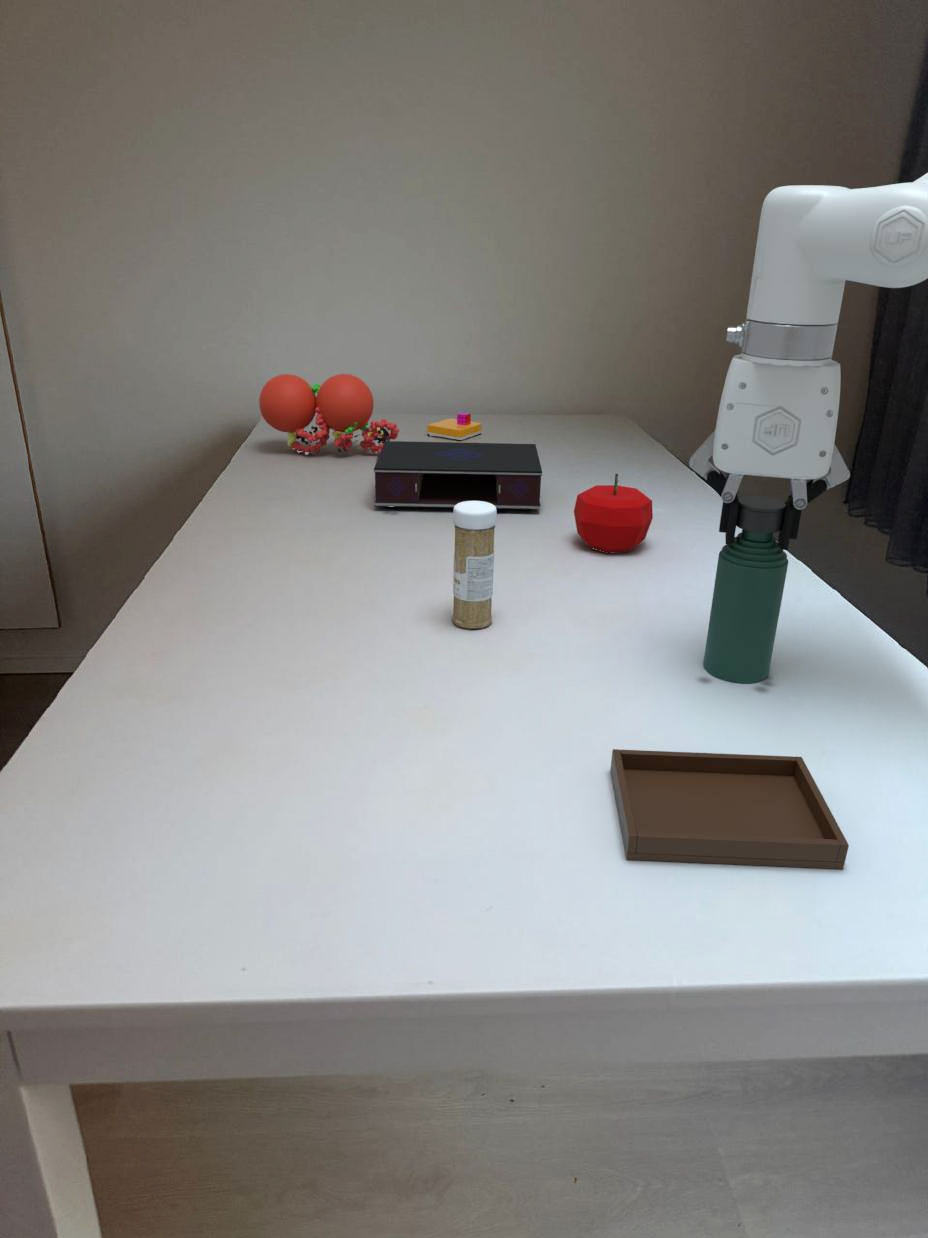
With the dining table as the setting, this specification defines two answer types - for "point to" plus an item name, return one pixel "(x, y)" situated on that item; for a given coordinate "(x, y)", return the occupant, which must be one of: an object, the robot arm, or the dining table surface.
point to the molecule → (323, 411)
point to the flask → (745, 608)
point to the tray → (724, 810)
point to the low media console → (457, 474)
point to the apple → (613, 517)
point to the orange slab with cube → (455, 426)
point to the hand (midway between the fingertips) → (756, 540)
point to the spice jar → (473, 563)
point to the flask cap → (760, 514)
